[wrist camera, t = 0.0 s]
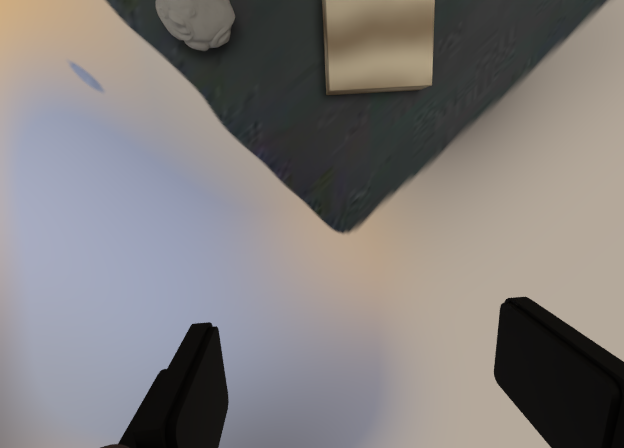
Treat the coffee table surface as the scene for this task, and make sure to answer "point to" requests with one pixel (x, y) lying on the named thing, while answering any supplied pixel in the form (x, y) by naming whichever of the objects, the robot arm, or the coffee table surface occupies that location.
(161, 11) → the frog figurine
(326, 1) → the birch block
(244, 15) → the coffee table surface
